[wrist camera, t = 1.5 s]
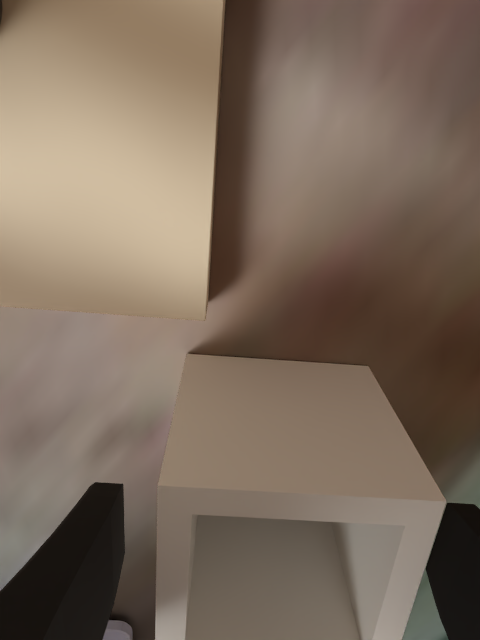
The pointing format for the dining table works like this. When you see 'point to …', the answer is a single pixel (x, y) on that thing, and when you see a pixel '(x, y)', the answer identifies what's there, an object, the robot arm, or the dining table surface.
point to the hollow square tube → (289, 506)
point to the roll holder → (109, 154)
